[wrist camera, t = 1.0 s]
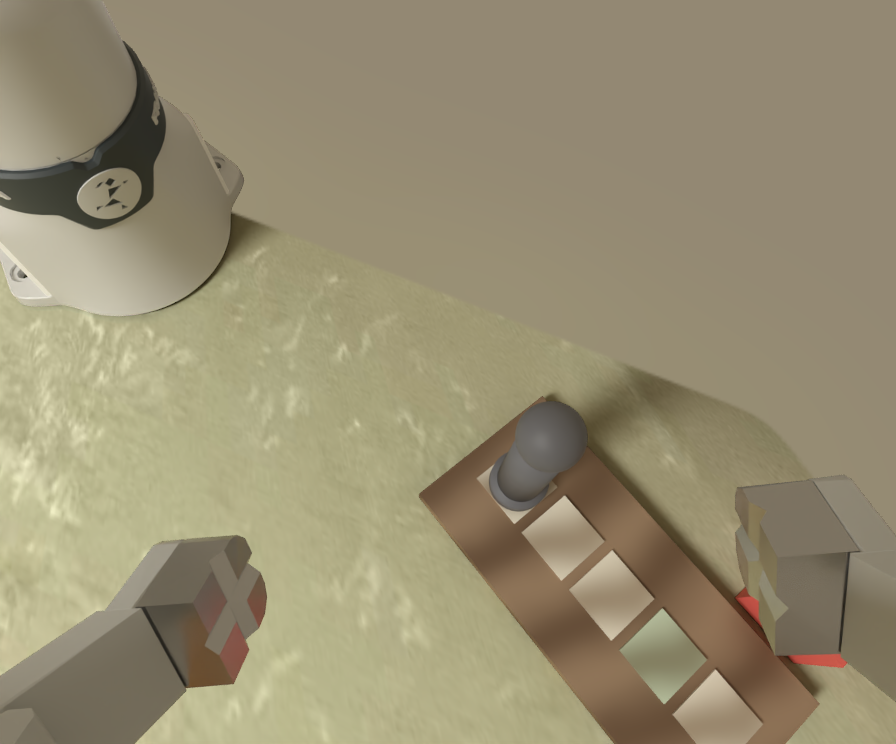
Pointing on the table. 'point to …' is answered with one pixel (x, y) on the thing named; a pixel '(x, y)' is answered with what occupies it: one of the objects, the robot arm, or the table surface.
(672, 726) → the track board
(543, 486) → the pawn
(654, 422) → the table surface
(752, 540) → the robot arm
